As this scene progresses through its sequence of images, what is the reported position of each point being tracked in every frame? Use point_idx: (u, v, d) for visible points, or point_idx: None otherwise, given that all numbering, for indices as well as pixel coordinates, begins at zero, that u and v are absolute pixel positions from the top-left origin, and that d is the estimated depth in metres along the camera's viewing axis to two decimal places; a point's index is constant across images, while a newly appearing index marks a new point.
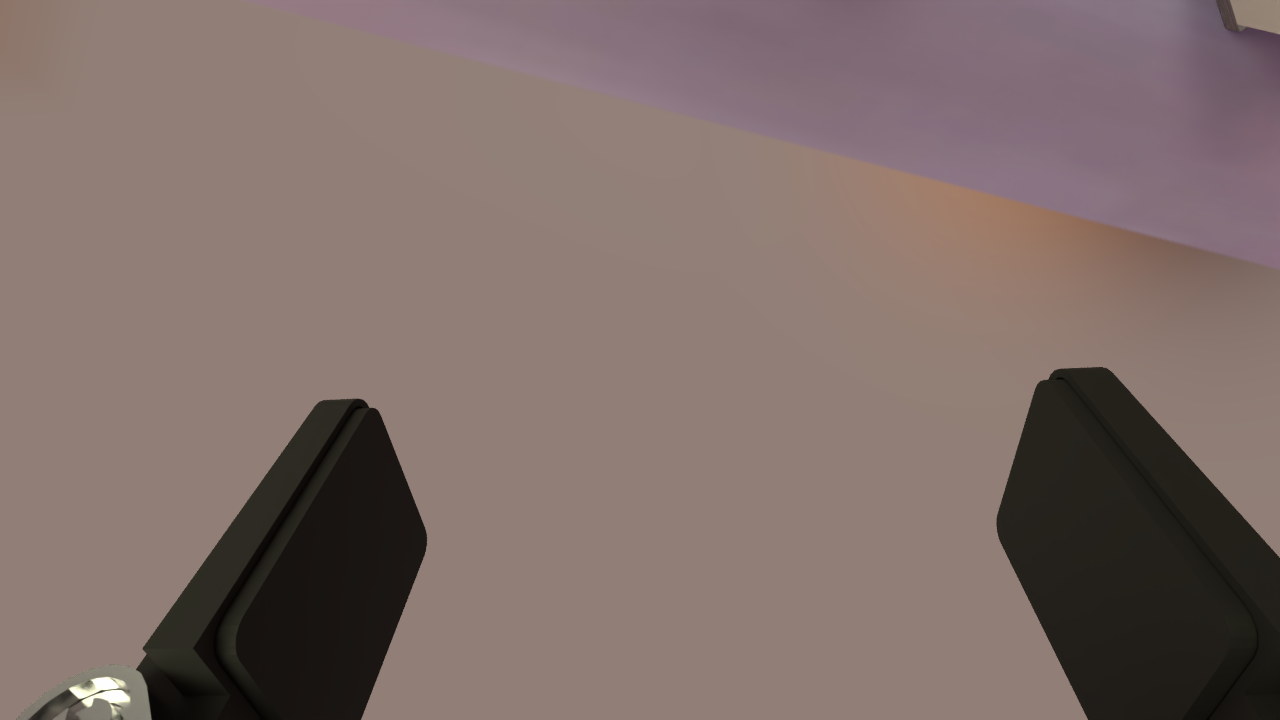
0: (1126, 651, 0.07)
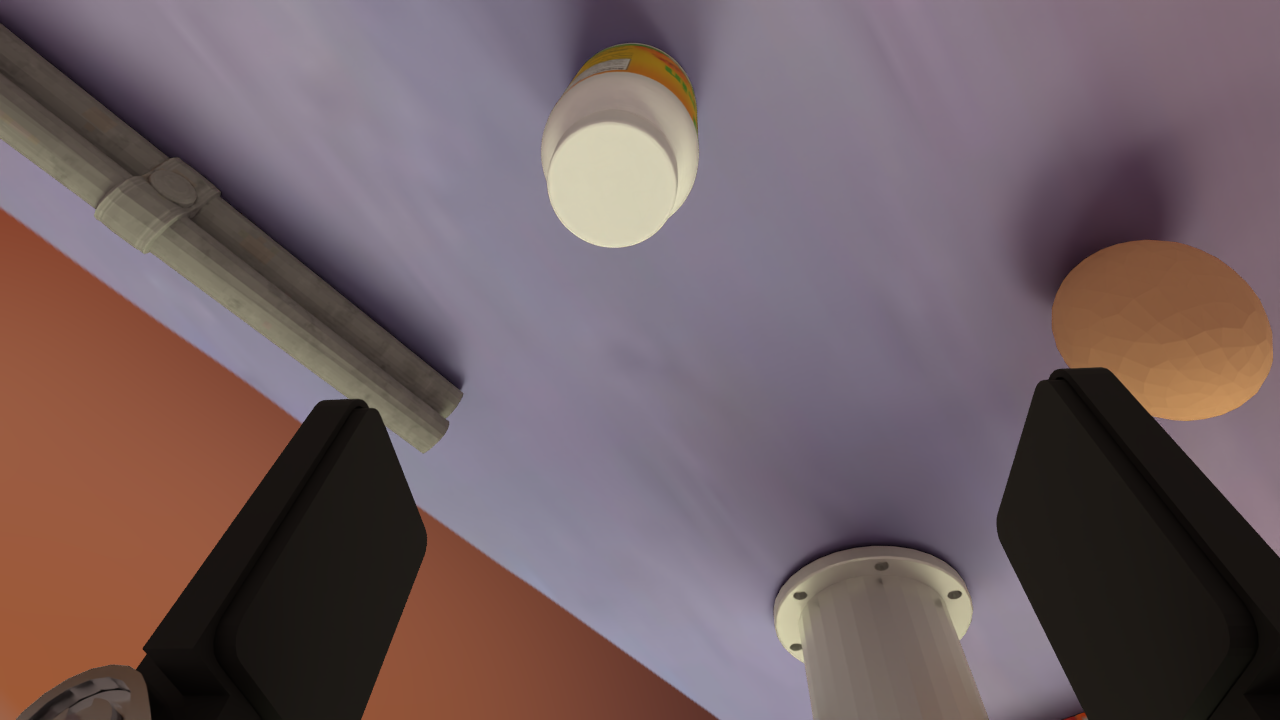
0: (1126, 652, 0.07)
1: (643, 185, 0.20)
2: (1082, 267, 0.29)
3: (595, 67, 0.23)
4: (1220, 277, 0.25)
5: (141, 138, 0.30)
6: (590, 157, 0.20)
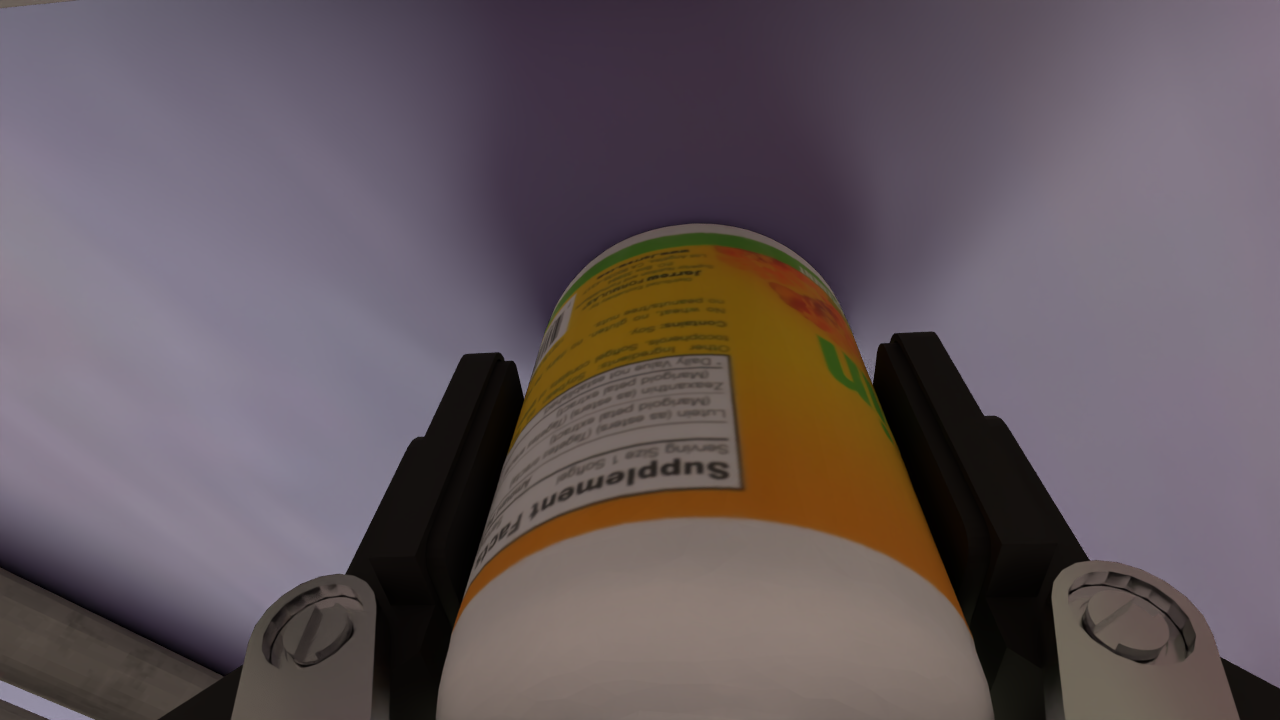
0: None
1: None
2: None
3: (618, 401, 0.07)
4: None
5: None
6: None
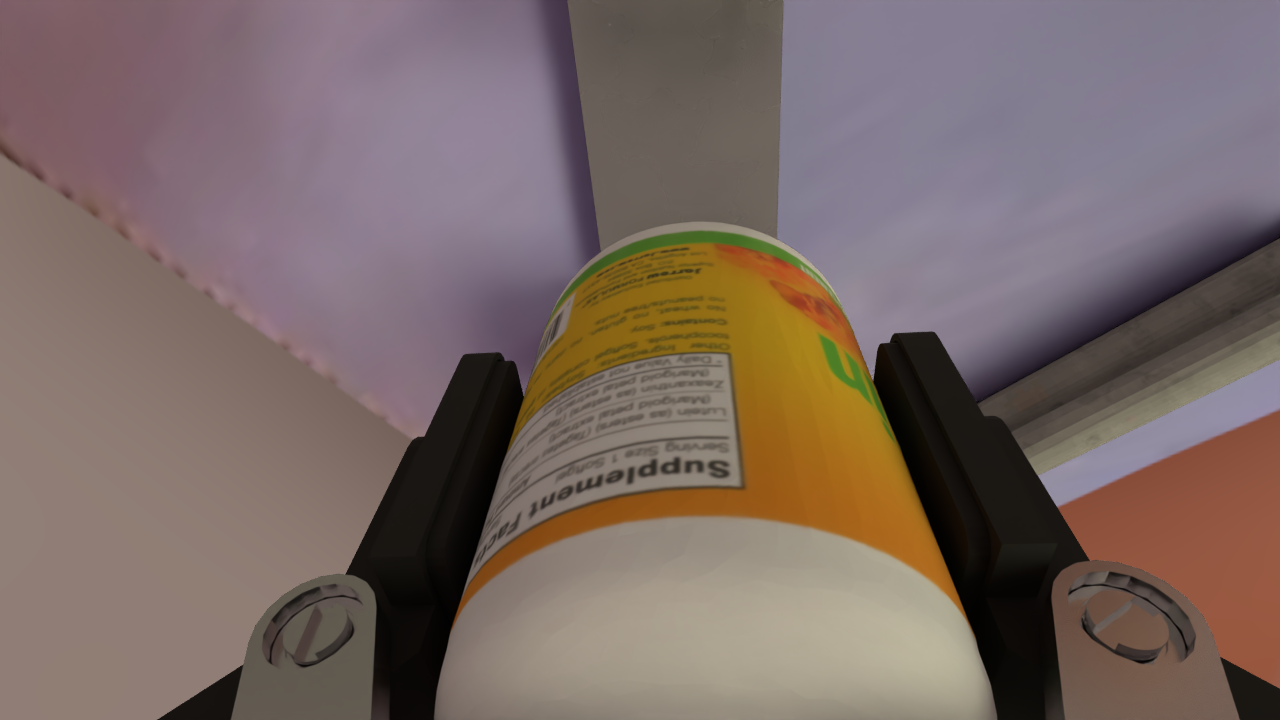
0: None
1: None
2: None
3: (618, 399, 0.07)
4: None
5: None
6: None
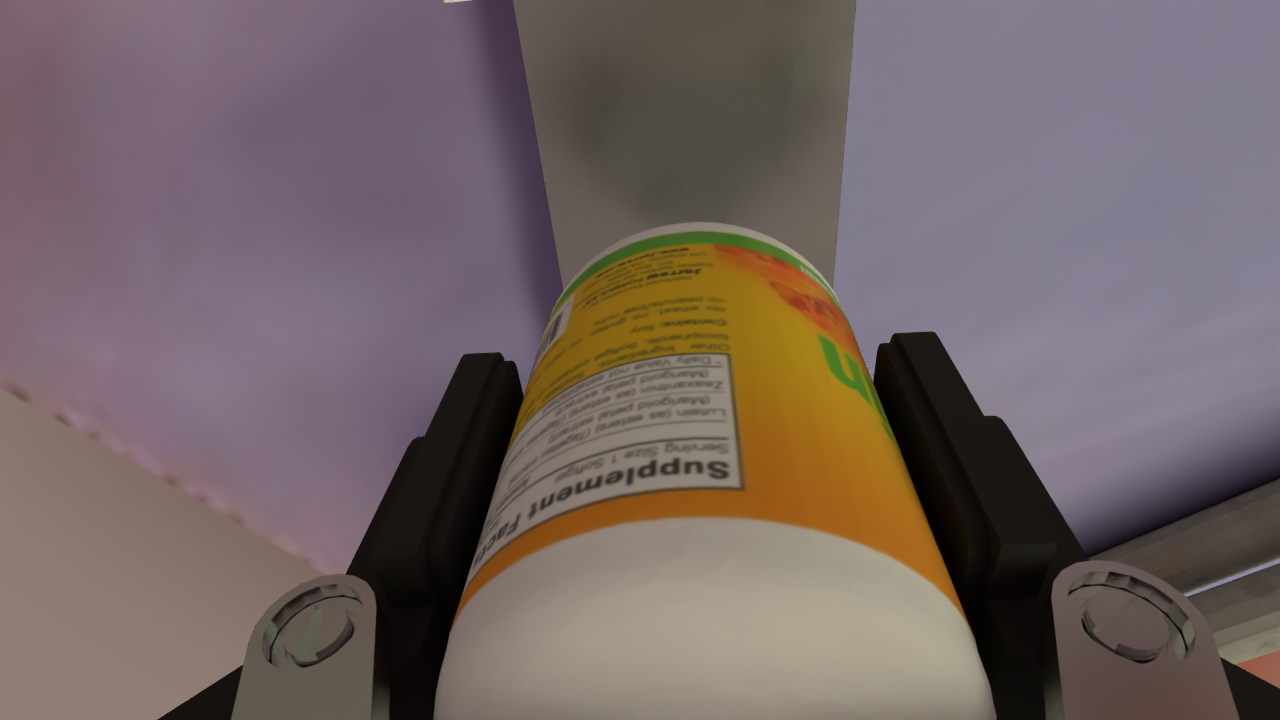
0: None
1: None
2: None
3: (617, 400, 0.07)
4: None
5: None
6: None
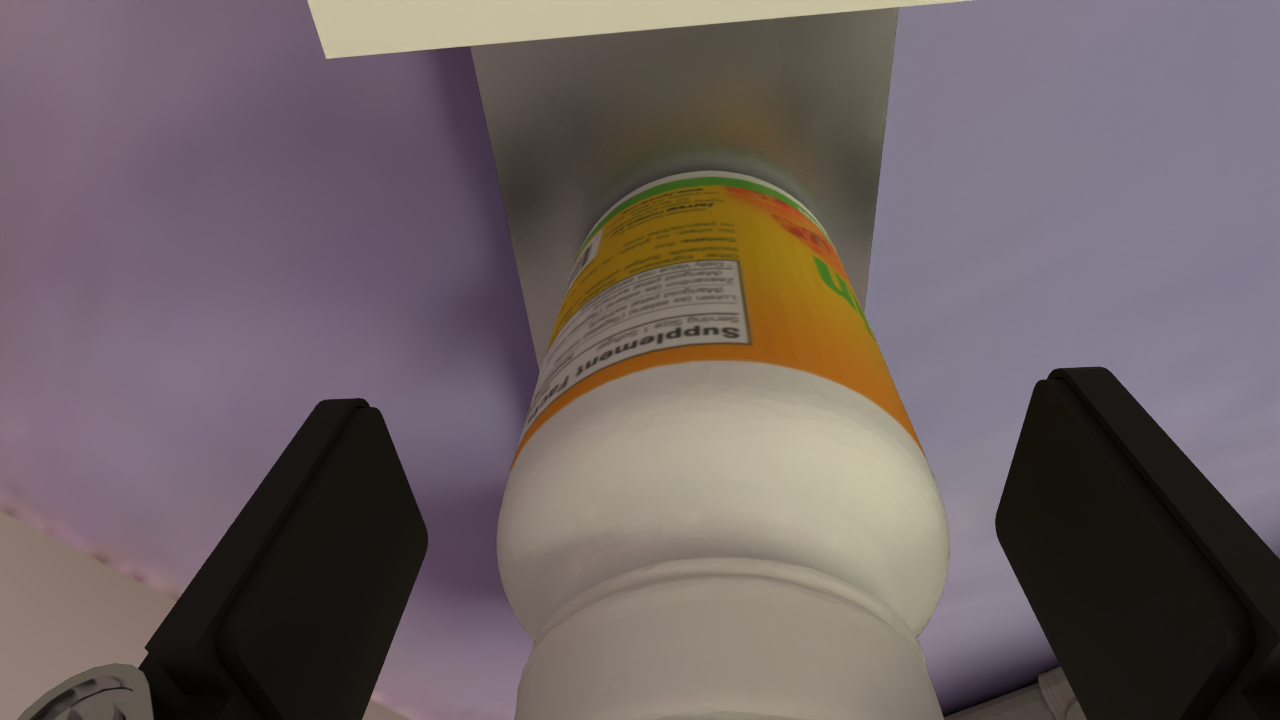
0: (1124, 651, 0.07)
1: None
2: None
3: (647, 292, 0.09)
4: None
5: (1005, 706, 0.23)
6: None
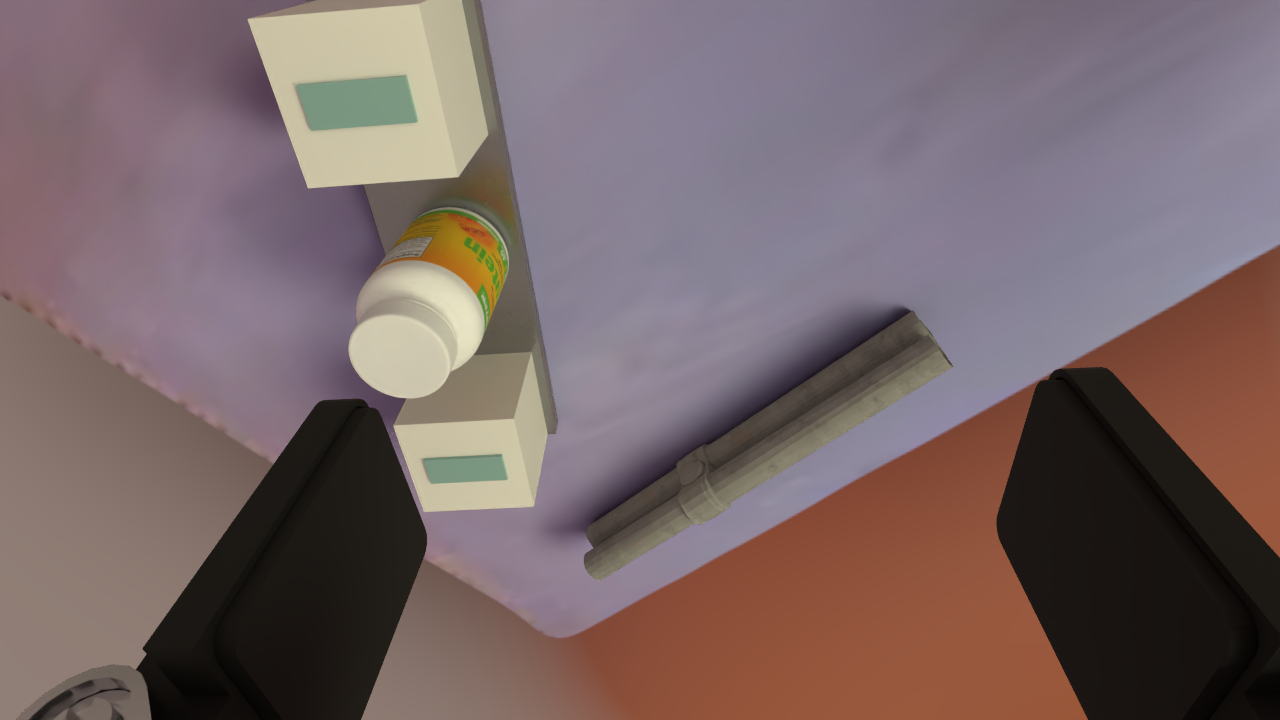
0: (1126, 651, 0.07)
1: (423, 357, 0.26)
2: None
3: (403, 246, 0.29)
4: None
5: (663, 477, 0.44)
6: (379, 338, 0.26)
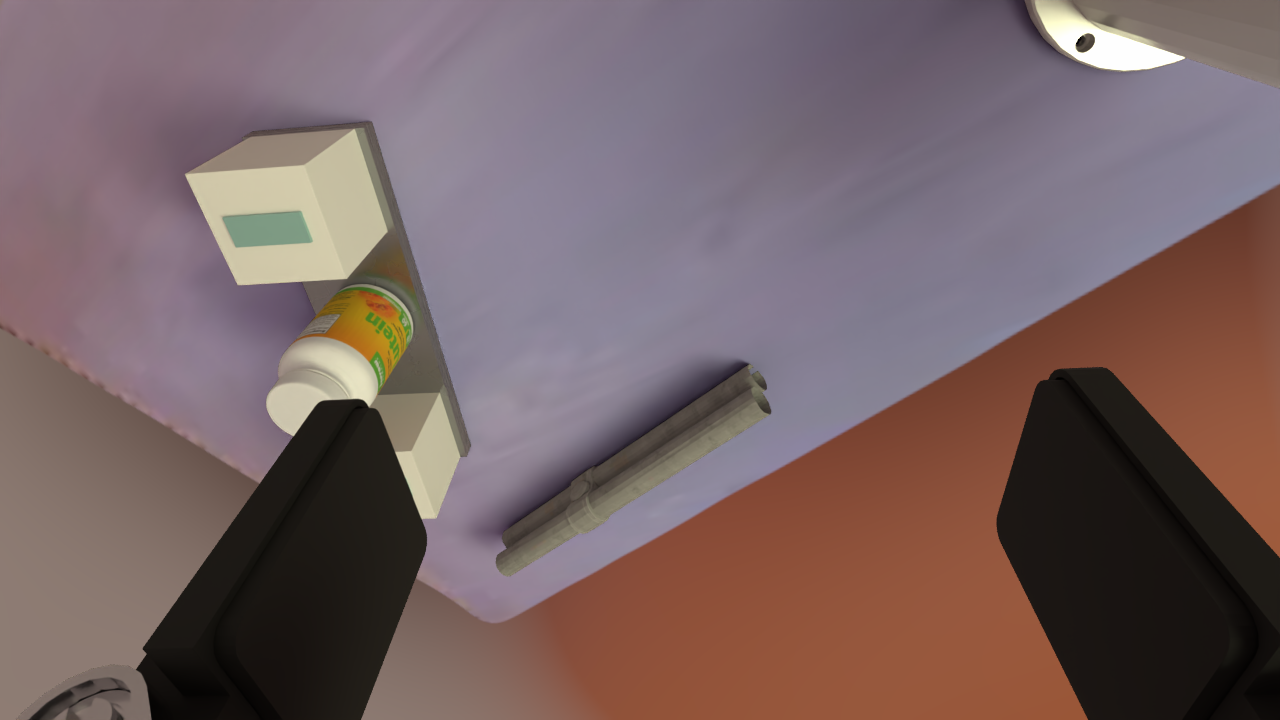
0: (1125, 652, 0.07)
1: None
2: None
3: (316, 322, 0.38)
4: None
5: (561, 492, 0.52)
6: (287, 399, 0.35)
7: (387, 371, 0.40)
